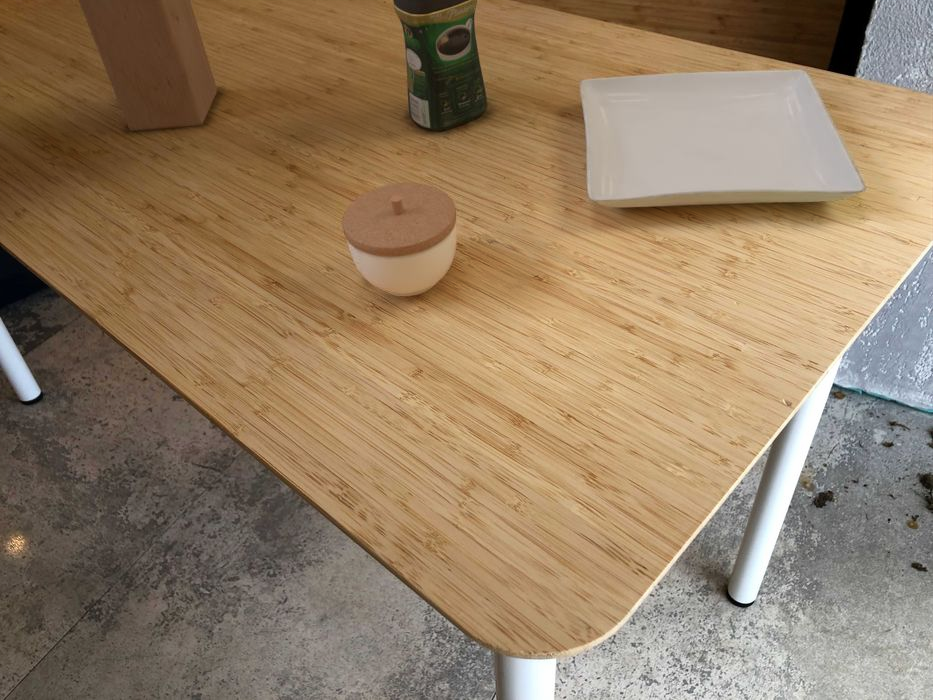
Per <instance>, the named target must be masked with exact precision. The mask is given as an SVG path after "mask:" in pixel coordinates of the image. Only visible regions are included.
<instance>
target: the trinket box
mask: <svg viewBox="0 0 933 700" xmlns="http://www.w3.org/2000/svg"><path fill="white" fill-rule="evenodd" d="M341 219H342V220H341V225H342V227H341V228H342V232H343V234H344V237H345V239H346V244H347V247H348V251H349V253H350V256H351V258H352V262H353V263H354V265H355V267H356V268H357V271H358V272H359V274H360V275H361V276H362V277H363V279H365V280H366V281H367V282H368V283H370V284H371V285H372V286H373V287H375V288H376V289H379V290H380V291H383V292H385V293H388V294H390V295H392V296H398V297H412V296H417V295H420V294H423V293H425V292H427V291H429V290H431V289H432V288H433V287H435V285H436V284H438V283H439V282H440V281H441V280H442V279H443V278H444V277H445V276H446V274H447V273H448V271H449V270H450V269H451V267H452V264H453V261H454V259H455V256H456V250H457V242H458V239H457V238H458V232H457V231H458V230H457V229H458V228H457V208H456V204H455V202H454V200H453V198H452V197H451V196H449V194H448V193H446V192H445V191H444V190H442V189H440V188H438V187H436V186H433V185H429V184H425V183H419V182H418V183H417V182H400V183H399V182H398V183H392V184H386V185H383V186H379V187H377V188H374V189H371V190H369V191H367V192H365V193H363V194H361V195H359V196H358V197H356V199H354V200H353V201H352V202H351V203H350V204H349V205H348V207H346V209H345V211H344V213H343V215H342V218H341Z"/></svg>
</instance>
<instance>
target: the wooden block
mask: <svg viewBox="0 0 933 700" xmlns="http://www.w3.org/2000/svg"><path fill="white" fill-rule="evenodd" d="M78 2H79V6H80V8H81V10H82V13H83V15H84V18H85V20H86V23H87V25H88V28H89V30H90V33H91V36H92V38H93V41H94V43H95V45H96V46H95V47H96V49H97V51H98V53H99V56H100V58H101V61H102V63H103V66H104V69H105V71H106V74H107V77H108V79H109V81H110V84H111V86H112V89H113V92H114V95H115V97H116V100H117V102H118V104H119V107H120V109H121V113H122V115H123V118H124V119H125V123H126V125H127V127H128V130H129V131H130V132H137V131H149V130H161V129H173V128H185V127H198V126H202V125H204V123H205V120H206V118H207V116H208V114H209V111H210V108H211V107H212V104H213V102H214V99H215V97H216V95H217V93H218V89H217V85H216V81H215V78H214V74H213V71H212V68H211V66H210V62H209V59H208V55H207V52H206V49H205V45H204V42H203V39H202V36H201V32H200V29H199V26H198V22H197V18H196V15H195V13H194V10H193V6H192V3H191V2H192V1H191V0H78Z"/></svg>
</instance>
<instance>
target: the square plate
mask: <svg viewBox="0 0 933 700" xmlns="http://www.w3.org/2000/svg"><path fill="white" fill-rule="evenodd" d="M579 96H580V101H581V107H582V113H583V114H582V115H583V120H584V131H585V133H584V135H585V156H586V157H585V160H586V161H585V162H586V163H585V165H586V166H585V168H586V189H587V191H586V192H587V197H588V198H589V200H591V201H593V202H596V203H597V204H599V205H601V206H604V207H608V208H648V207H685V206H711V205H712V206H713V205H741V204H746V205H747V204H776V203H819V202H832V201H833V202H835V201H841V200H845V199H849V198H852V197H854V196H857V195H858V194H860V193H864V192H866V189H867V185H866V182H865V180H864V178H863V177H862V174H861V172H860V170H859V168H858V166H857V164H856V162H855V161H854V159H853V157H852V155H851V153H850V151H849V148H848V147H847V145H846V144H845V141H844V139H843V138H842V136H841V134H840V133H839V130H838V129H837V126H836V124H835V122H834V121H833V118H832V117H831V115H830V112H829V111H828V109H827V107H826V104H825V103H824V101H823V99H822V97H821V94H820V92H819V90H818V88H817V86H816V84H815V82H814V79H812V77H811V76H810V73H809V72H808V71H806V70H803V69H775V70H773V69H771V70H736V71H735V70H732V71H731V70H730V71H729V70H728V71H698V72H674V73H673V72H671V73H657V74H655V73H654V74H653V73H652V74H642V75H641V74H640V75H628V76H627V75H626V76H625V75H624V76H613V77H602V78H601V77H599V78H598V77H597V78H586V79H583V80H581V81H580V82H579Z"/></svg>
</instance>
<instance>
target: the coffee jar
mask: <svg viewBox="0 0 933 700" xmlns="http://www.w3.org/2000/svg"><path fill="white" fill-rule="evenodd" d="M392 2H393V3H392V4H393V9H394V13H395V14H396V16H397V19H398V20H399V21H400V23H401V27H402V32H403V38H404V39H403V40H404V48H405V61H406V62H405V63H406V82H407V83H406V85H407V87H406V88H407V102H408V111H409V116H410V118H411V119H412V120H413V122H414V123H415V124H416V125H418V126H419V127H421V128H422V129H426V130H429V131H434V132H442V131H447V130H450V129H452V128H456V127H458V126H462V125H464V124H466V123H469V122H471V121H474V120H476V119H478V118H479V117H481V116H483V114H485V113H486V110H487V108H488V100H487V92H486V86H485V81H484V77H483V71H482V67H481V61H480V54H479V48H478V43H477V38H476V25H475V15H476V9H477V4H478V0H392Z"/></svg>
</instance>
